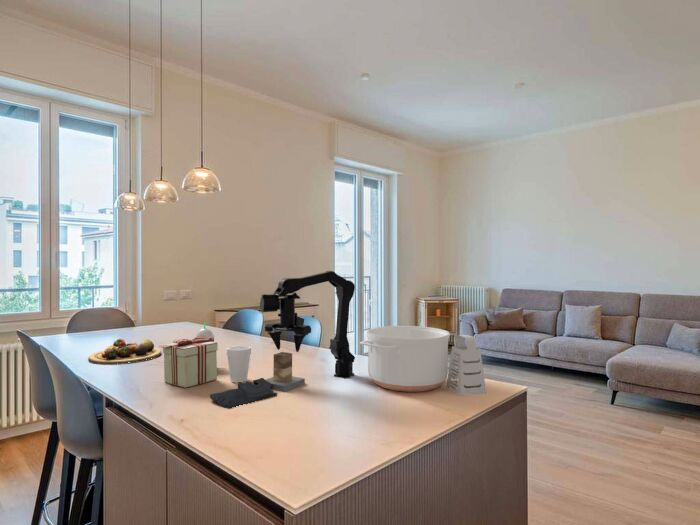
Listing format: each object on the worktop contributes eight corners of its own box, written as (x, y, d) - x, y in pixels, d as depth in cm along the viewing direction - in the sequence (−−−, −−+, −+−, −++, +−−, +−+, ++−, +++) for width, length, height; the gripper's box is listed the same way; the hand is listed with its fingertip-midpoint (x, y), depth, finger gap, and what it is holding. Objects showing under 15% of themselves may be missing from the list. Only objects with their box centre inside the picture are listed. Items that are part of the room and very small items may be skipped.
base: (304, 383, 168) (304, 378, 168) (285, 391, 157) (285, 386, 157) (280, 379, 174) (280, 374, 174) (260, 386, 163) (260, 381, 163)
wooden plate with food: (92, 354, 221) (91, 338, 221) (160, 348, 235) (160, 333, 235) (84, 369, 192) (84, 351, 192) (162, 361, 206) (162, 344, 206)
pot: (408, 367, 194) (408, 322, 194) (471, 381, 172) (471, 330, 172) (340, 385, 165) (340, 332, 165) (406, 405, 143) (406, 344, 143)
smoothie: (217, 365, 197) (217, 321, 197) (209, 369, 189) (209, 323, 189) (199, 364, 198) (199, 320, 198) (191, 369, 190) (191, 323, 190)
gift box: (189, 373, 183) (189, 332, 183) (220, 379, 173) (220, 336, 173) (153, 383, 168) (153, 338, 168) (184, 390, 159) (184, 343, 159)
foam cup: (236, 385, 165) (236, 351, 165) (221, 381, 171) (221, 348, 171) (255, 379, 173) (255, 347, 173) (241, 376, 178) (241, 344, 178)
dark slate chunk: (203, 400, 148) (203, 387, 148) (256, 387, 164) (256, 374, 164) (227, 411, 138) (227, 396, 138) (282, 395, 154) (282, 382, 154)
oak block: (292, 379, 166) (292, 366, 166) (283, 382, 162) (283, 369, 162) (281, 377, 169) (281, 364, 169) (273, 380, 165) (273, 367, 165)
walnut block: (292, 366, 166) (292, 353, 166) (283, 369, 162) (283, 355, 162) (281, 364, 169) (282, 351, 169) (273, 367, 165) (273, 354, 165)
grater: (460, 395, 154) (460, 339, 153) (446, 387, 164) (446, 334, 164) (486, 393, 156) (486, 337, 156) (470, 385, 166) (471, 333, 166)
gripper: (318, 309, 171) (319, 348, 171) (281, 307, 180) (282, 344, 180) (302, 312, 161) (302, 354, 161) (263, 310, 170) (264, 349, 171)
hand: (288, 350), depth 169 cm, fingers open, 9 cm apart
